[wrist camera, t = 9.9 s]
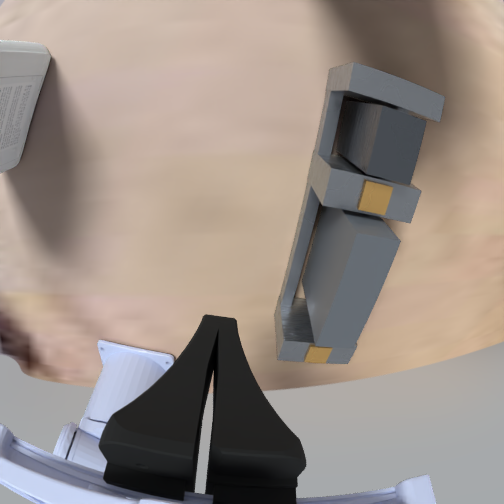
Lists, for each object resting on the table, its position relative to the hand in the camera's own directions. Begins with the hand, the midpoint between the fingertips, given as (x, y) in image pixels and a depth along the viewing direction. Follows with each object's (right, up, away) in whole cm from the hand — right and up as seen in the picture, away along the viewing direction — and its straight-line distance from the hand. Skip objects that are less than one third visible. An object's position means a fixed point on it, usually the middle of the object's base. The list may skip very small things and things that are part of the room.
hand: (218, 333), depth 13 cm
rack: (+7, +6, +8) cm, 12 cm away
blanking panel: (+7, +4, +9) cm, 12 cm away
